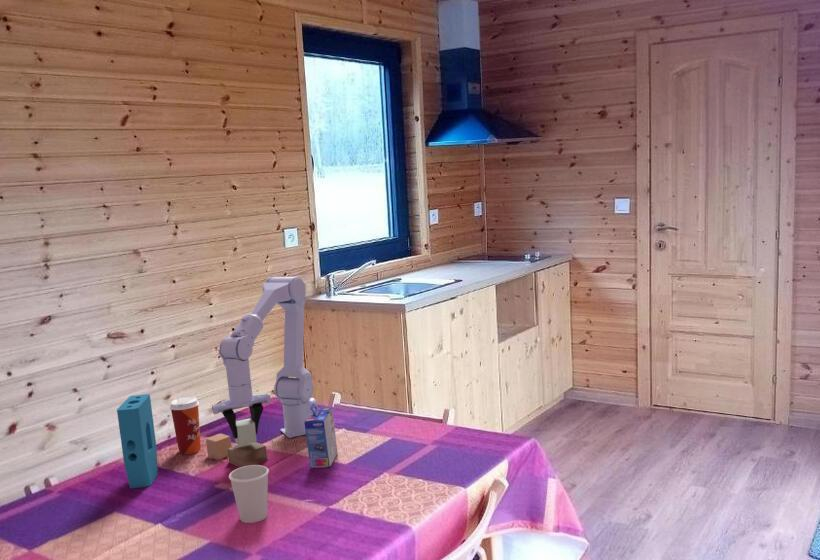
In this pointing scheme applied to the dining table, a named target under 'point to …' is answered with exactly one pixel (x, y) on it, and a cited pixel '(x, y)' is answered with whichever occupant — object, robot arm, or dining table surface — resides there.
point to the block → (138, 440)
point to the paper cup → (186, 424)
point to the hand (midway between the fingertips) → (245, 435)
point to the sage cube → (245, 432)
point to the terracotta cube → (218, 446)
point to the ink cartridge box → (320, 437)
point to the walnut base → (247, 454)
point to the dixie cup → (250, 492)
